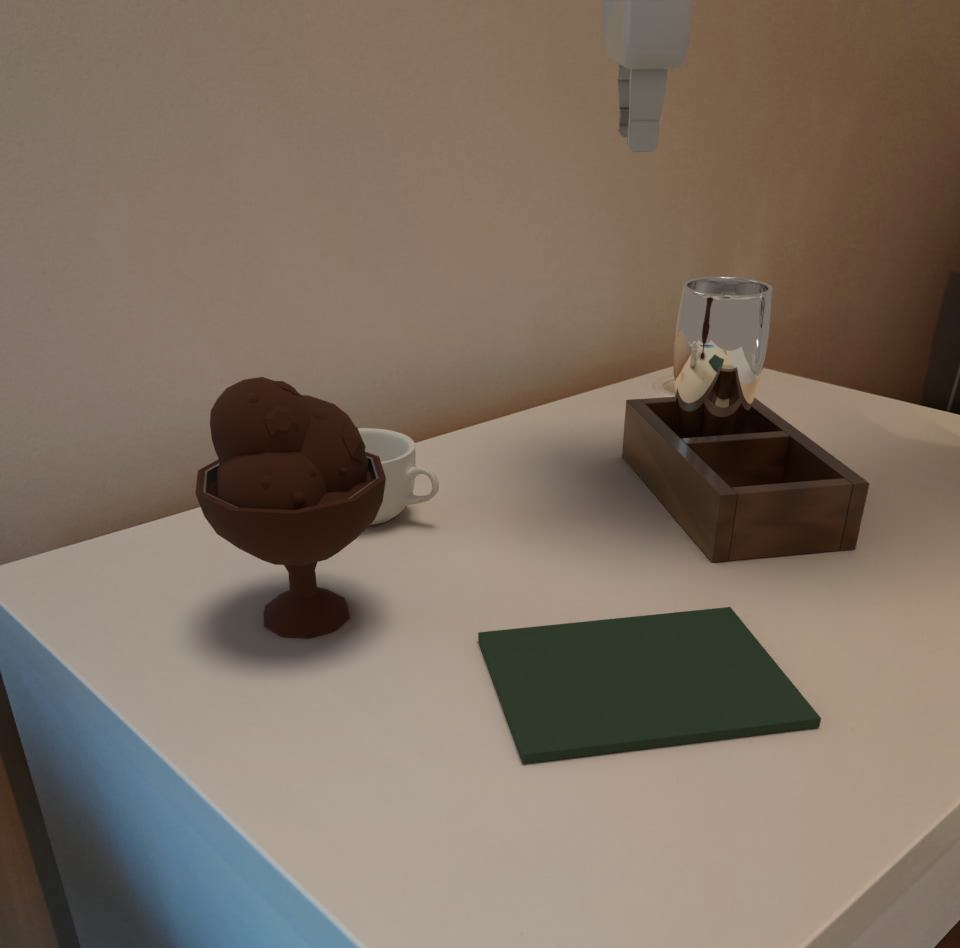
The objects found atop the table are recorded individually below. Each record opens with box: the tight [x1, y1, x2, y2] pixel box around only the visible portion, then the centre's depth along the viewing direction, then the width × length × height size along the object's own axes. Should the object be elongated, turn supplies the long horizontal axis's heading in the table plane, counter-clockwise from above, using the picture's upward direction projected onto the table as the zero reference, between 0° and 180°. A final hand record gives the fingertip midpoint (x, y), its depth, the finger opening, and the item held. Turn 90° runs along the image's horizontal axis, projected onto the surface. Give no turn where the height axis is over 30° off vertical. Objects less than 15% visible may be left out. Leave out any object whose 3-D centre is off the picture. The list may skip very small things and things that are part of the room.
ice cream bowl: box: [194, 376, 386, 639], centre depth 59 cm, size 11×11×15 cm
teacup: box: [357, 427, 440, 526], centre depth 74 cm, size 10×8×5 cm
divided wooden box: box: [621, 396, 870, 563], centre depth 76 cm, size 11×20×5 cm, turn 11°
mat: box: [477, 606, 822, 764], centre depth 56 cm, size 16×12×1 cm
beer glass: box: [672, 275, 774, 439], centre depth 78 cm, size 7×7×15 cm
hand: (635, 143), depth 67 cm, fingers open, 8 cm apart
